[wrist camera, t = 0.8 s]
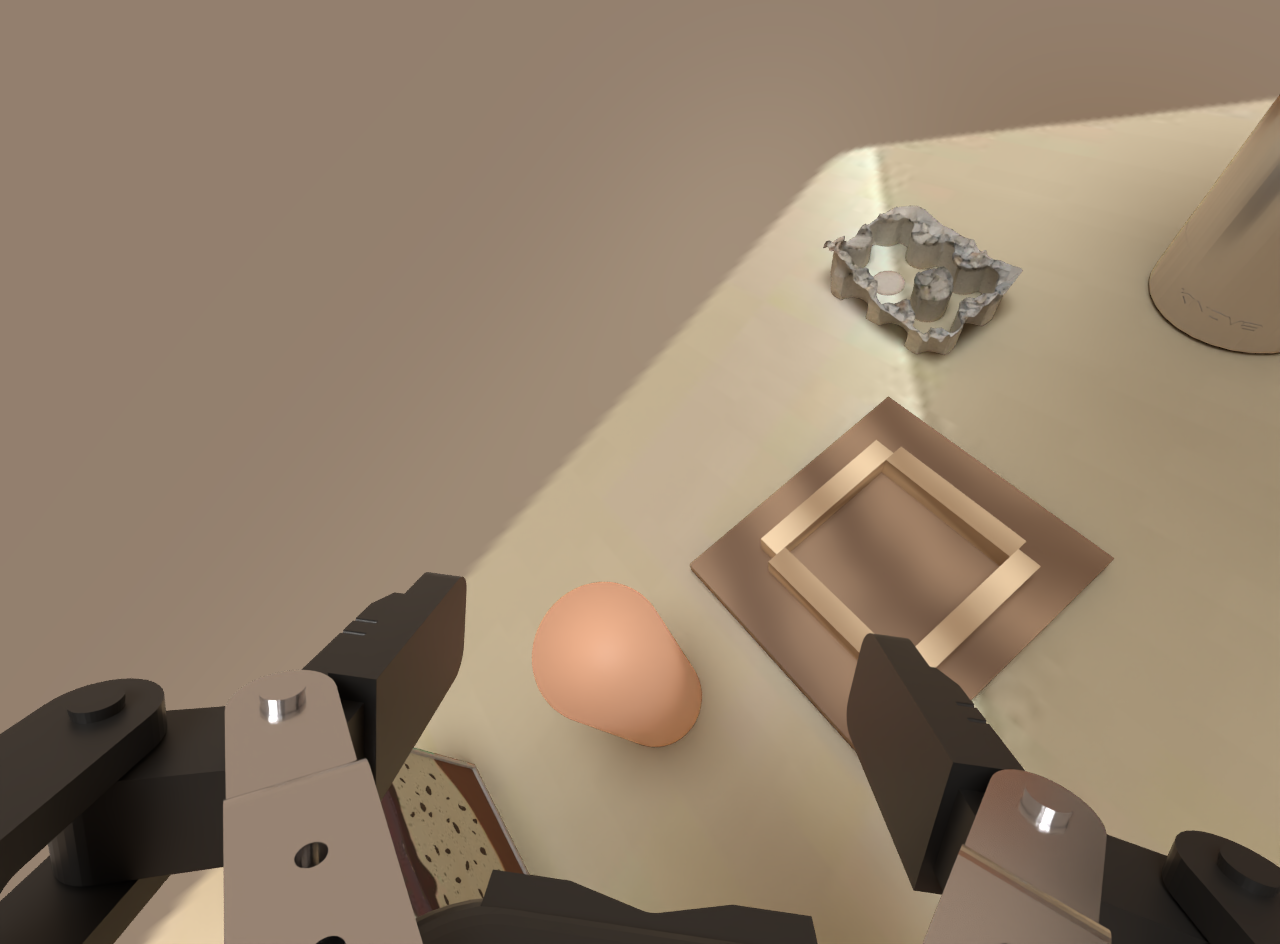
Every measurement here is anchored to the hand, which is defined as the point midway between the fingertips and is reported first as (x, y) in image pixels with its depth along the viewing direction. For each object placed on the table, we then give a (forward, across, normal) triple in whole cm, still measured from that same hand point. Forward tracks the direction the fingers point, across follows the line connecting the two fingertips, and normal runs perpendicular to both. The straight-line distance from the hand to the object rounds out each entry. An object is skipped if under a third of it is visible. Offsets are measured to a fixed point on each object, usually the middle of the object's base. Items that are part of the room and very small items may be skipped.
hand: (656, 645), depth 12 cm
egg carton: (+33, -15, -9) cm, 38 cm away
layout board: (+20, -13, +6) cm, 25 cm away
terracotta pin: (+17, -1, +13) cm, 22 cm away
